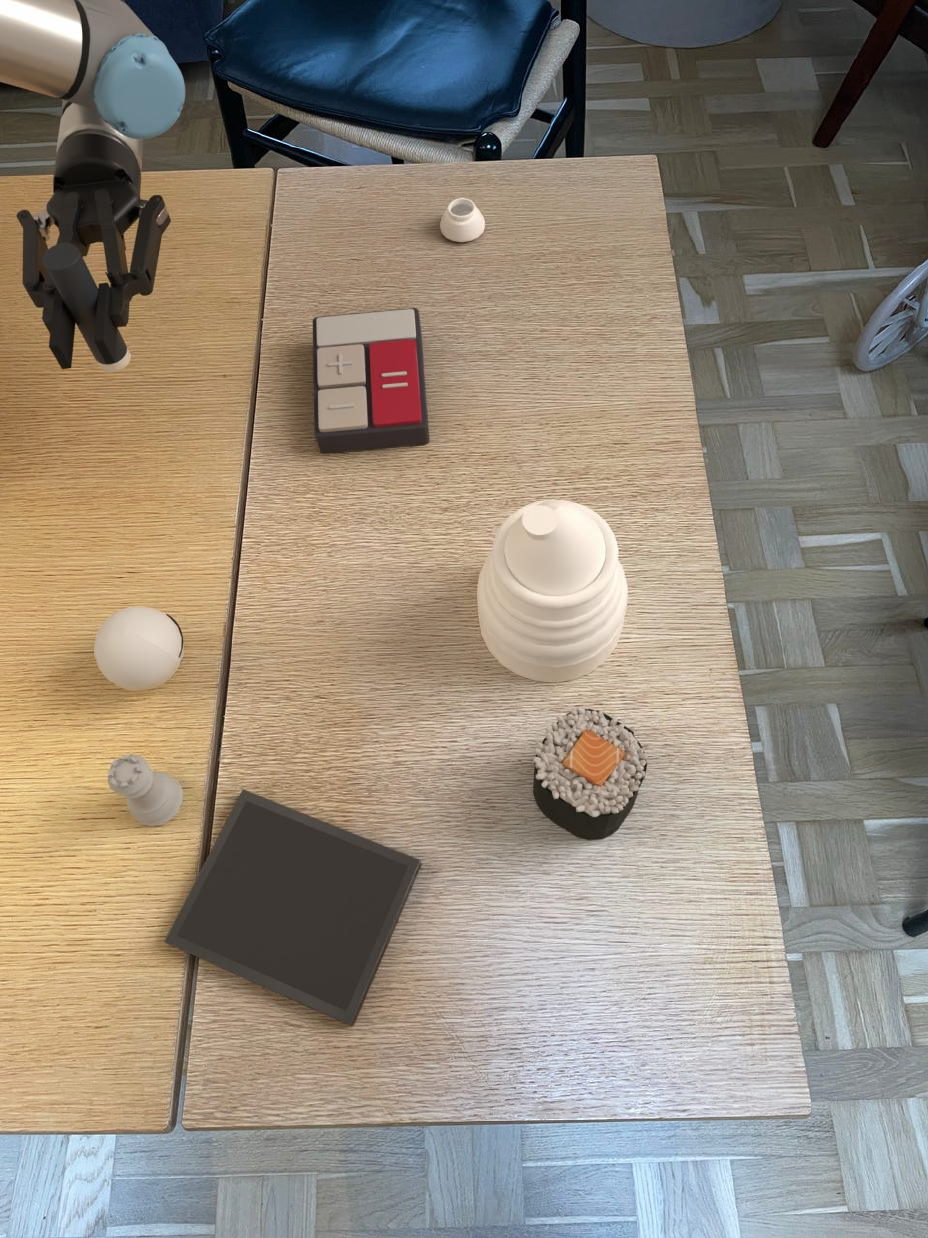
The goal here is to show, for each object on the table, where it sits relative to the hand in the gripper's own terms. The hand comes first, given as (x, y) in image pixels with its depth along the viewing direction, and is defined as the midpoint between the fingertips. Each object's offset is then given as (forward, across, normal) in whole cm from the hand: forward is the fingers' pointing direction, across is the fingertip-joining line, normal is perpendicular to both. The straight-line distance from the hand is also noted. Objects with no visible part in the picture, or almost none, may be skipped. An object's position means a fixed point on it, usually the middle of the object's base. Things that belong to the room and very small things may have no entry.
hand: (82, 354), depth 81 cm
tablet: (+43, -13, -18) cm, 48 cm away
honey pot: (+20, -36, -18) cm, 45 cm away
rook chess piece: (+33, -2, -18) cm, 38 cm away
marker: (-5, 0, -7) cm, 9 cm away
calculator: (-8, -22, -18) cm, 30 cm away
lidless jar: (-30, -34, -18) cm, 49 cm away
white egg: (+19, -1, -18) cm, 26 cm away
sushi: (+36, -37, -18) cm, 55 cm away
